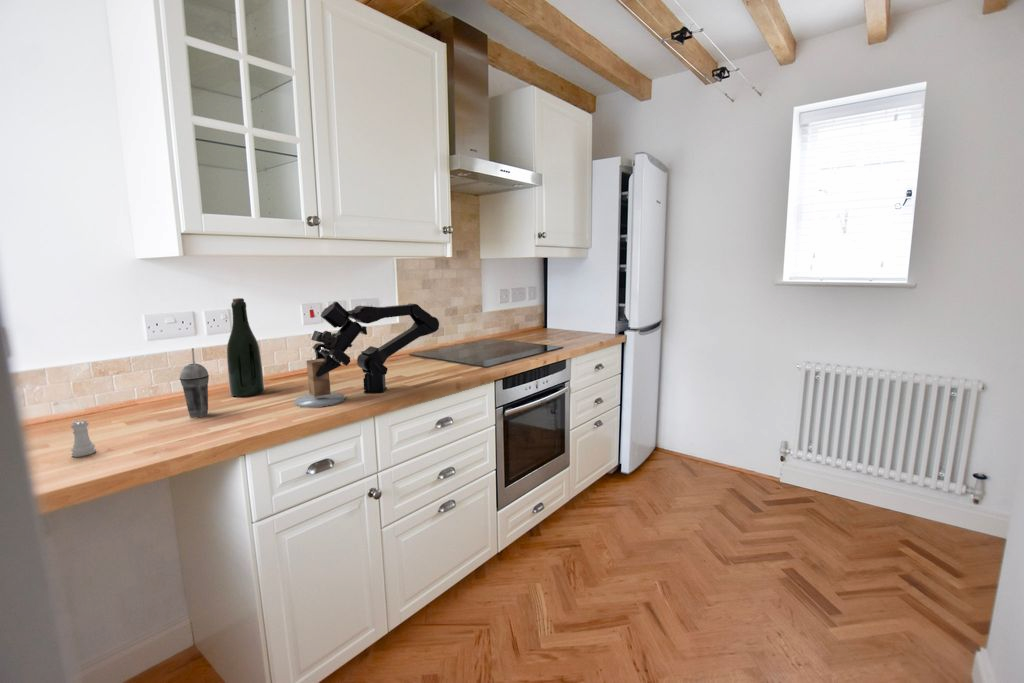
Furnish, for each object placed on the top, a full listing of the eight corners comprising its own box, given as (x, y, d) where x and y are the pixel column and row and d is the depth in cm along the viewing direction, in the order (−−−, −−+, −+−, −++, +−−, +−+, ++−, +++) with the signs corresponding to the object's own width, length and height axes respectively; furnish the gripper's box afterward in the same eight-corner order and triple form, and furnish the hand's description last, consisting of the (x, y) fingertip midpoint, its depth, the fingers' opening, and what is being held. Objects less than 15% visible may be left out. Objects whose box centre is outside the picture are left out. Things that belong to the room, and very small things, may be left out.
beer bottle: (238, 390, 174) (229, 297, 169) (269, 389, 175) (260, 297, 170) (224, 398, 164) (213, 299, 159) (257, 397, 165) (247, 298, 160)
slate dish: (351, 395, 165) (351, 391, 165) (333, 407, 150) (333, 404, 150) (308, 395, 166) (307, 391, 166) (285, 408, 151) (285, 404, 151)
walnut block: (324, 391, 161) (322, 358, 160) (330, 394, 158) (327, 360, 156) (309, 394, 158) (306, 360, 156) (314, 397, 154) (311, 362, 153)
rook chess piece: (84, 450, 118) (79, 418, 117) (101, 450, 118) (96, 418, 116) (66, 457, 114) (60, 424, 112) (83, 457, 113) (78, 424, 112)
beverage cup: (180, 420, 140) (171, 351, 137) (189, 413, 147) (181, 347, 144) (208, 417, 142) (201, 350, 139) (216, 410, 149) (209, 346, 146)
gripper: (316, 319, 164) (284, 355, 159) (337, 323, 150) (303, 364, 144) (341, 339, 170) (311, 375, 165) (363, 345, 156) (332, 385, 151)
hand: (313, 374), depth 156 cm, fingers closed on walnut block, 5 cm apart
